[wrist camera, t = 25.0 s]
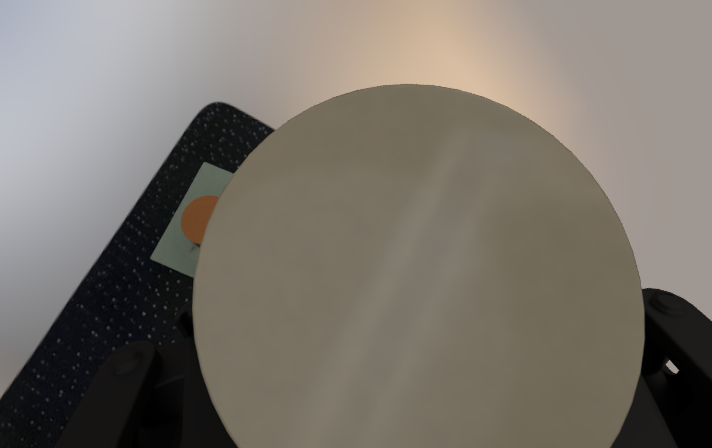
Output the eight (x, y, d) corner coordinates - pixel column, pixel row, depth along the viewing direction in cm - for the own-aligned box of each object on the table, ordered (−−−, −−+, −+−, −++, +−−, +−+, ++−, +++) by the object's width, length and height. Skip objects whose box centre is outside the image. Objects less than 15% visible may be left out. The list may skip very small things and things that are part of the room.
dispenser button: (249, 212, 26) (240, 206, 24) (227, 255, 25) (216, 252, 23) (208, 195, 26) (196, 188, 24) (185, 237, 26) (171, 232, 24)
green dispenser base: (304, 208, 31) (294, 192, 26) (261, 301, 29) (241, 304, 24) (218, 173, 32) (192, 152, 27) (170, 261, 30) (133, 256, 25)
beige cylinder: (450, 254, 18) (683, 164, 5) (409, 373, 16) (587, 660, 4) (341, 210, 18) (305, 32, 6) (292, 321, 17) (100, 415, 4)
